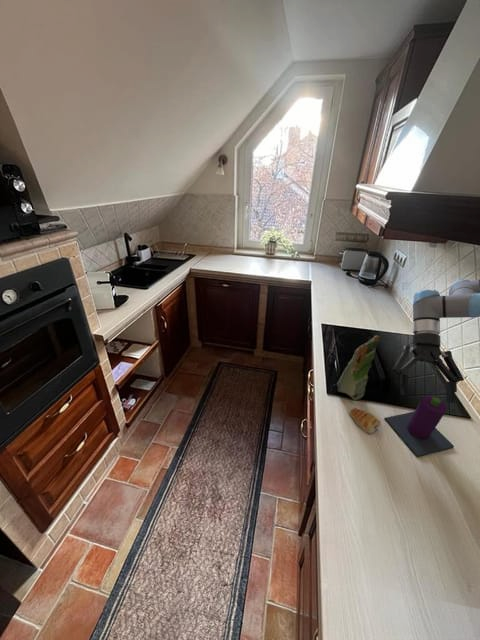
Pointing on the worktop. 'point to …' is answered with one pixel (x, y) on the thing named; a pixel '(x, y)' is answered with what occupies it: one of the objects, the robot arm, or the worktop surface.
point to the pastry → (365, 420)
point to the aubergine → (426, 417)
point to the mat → (417, 445)
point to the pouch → (358, 370)
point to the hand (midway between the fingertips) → (426, 398)
